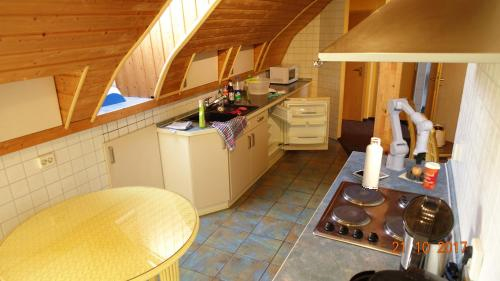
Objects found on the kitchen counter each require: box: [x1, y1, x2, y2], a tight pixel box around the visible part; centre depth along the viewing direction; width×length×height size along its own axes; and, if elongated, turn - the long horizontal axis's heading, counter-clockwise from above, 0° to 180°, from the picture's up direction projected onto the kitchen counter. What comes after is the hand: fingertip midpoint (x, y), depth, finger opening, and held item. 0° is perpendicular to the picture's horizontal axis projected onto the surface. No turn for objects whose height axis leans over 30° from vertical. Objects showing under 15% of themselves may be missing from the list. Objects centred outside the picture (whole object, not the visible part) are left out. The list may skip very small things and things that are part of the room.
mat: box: [397, 172, 423, 185], centre depth 206 cm, size 14×12×1 cm
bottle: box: [361, 137, 384, 190], centre depth 187 cm, size 8×8×28 cm
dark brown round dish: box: [406, 169, 424, 183], centre depth 204 cm, size 11×11×3 cm
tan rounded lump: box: [411, 166, 423, 176], centre depth 204 cm, size 5×5×6 cm
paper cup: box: [422, 161, 441, 190], centre depth 191 cm, size 8×8×14 cm
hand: (418, 164), depth 202 cm, fingers closed
